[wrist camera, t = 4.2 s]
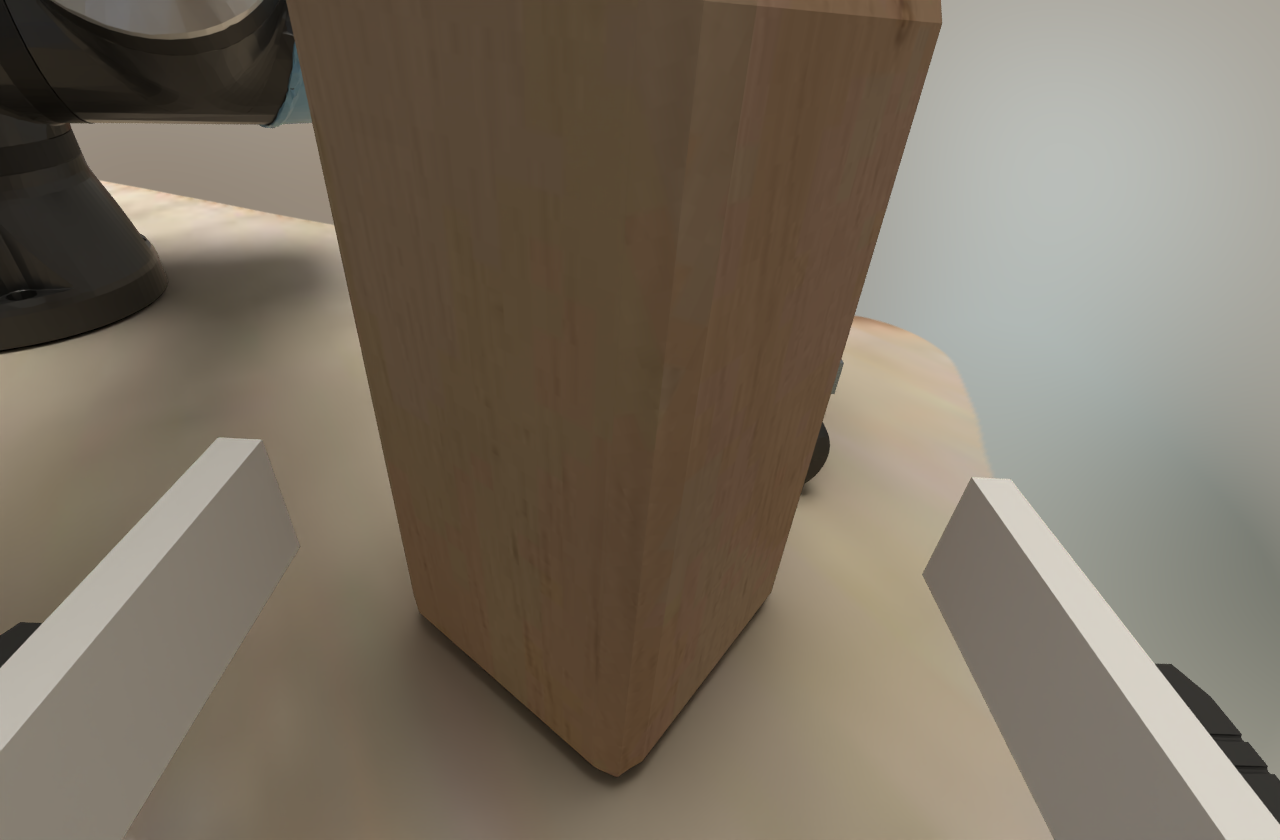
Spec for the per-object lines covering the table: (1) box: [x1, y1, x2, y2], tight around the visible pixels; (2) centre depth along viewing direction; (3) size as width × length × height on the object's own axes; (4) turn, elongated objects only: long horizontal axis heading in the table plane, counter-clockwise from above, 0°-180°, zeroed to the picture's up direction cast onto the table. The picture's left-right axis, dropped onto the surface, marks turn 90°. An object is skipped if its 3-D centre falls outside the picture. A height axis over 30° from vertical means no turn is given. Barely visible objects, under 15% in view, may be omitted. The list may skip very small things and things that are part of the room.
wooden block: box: [286, 0, 942, 777], centre depth 17 cm, size 10×10×20 cm
